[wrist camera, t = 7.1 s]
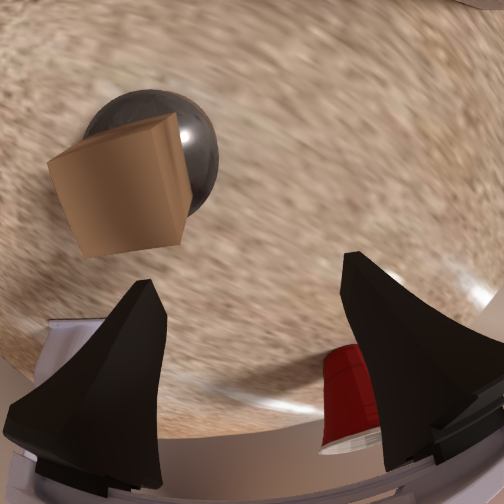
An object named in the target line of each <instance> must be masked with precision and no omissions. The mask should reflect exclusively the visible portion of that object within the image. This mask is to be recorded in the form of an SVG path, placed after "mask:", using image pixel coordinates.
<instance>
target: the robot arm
mask: <svg viewBox="0 0 504 504" xmlns="http://www.w3.org/2000/svg"><path fill="white" fill-rule="evenodd" d="M340 296H341V300H342V303H343V307H344V310H345V314H346V317H347V319H348V322H349V324H350V327H351V329H352V331H353V334H354V336H355V339H356V341H357V343H358V346H359V348H360V351H361V353H362V356H363V358H364V361H365V363H366V366H367V369H368V372H369V376H370V380H371V384H372V388H373V392H374V396H375V401H376V406H377V411H378V416H379V423H380V429H381V436H382V445H383V456H384V465H385V470H386V472H389V473H386V474H383V475H380V476H377V477H374V478H371V479H368V480H364V481H361V482H358V483H354V484H350V485H346V486H342V487H338V488H333V489H329V490H325V491H319V492H314V493H309V494H302V495H296V496H289V497H281V498H271V499H259V500H242V501H241V500H240V501H205V500H187V499H175V498H165V497H158V496H150V495H144V494H138V493H133V492H131V489H136V490H140V489H141V487H142V488H148V489H158V488H160V487H161V486H162V485H163V482H162V476H161V470H160V463H159V453H158V441H157V394H158V385H159V379H160V373H161V367H162V361H163V355H164V349H165V344H166V335H167V314H166V312H165V309H164V307H163V305H162V303H161V301H160V298H159V296H158V294H157V292H156V290H155V287H154V285H153V283H152V280H151V279H146V280H138V281H136V282H135V283H134V284H133V285H132V287H131V288H130V289H129V290H128V291H127V293H126V294H125V295H124V296H123V298H122V299H121V300H120V302H119V303H118V304H117V305H116V307H115V308H114V309H113V310H112V312H111V313H110V314H109V315H108V317H107V318H106V319H87V320H49V322H48V325H49V326H50V328H51V330H50V333H49V335H48V337H47V339H46V342H45V344H44V346H43V349H42V351H41V353H40V356H39V358H38V361H37V363H36V366H35V370H34V383H35V387H36V389H34V390H33V391H31V392H30V393H29V394H27V395H26V396H24V397H22V398H21V399H19V400H18V401H16V402H15V403H13V404H11V405H10V407H9V411H8V414H7V418H6V421H5V425H4V429H3V434H4V436H5V437H6V438H8V439H9V440H10V441H12V442H13V443H15V444H17V445H18V446H20V447H21V449H20V454H19V453H16V452H15V451H13V452H12V456H11V461H10V466H9V472H8V478H7V486H6V494H5V500H6V502H8V503H9V504H348V503H351V502H355V501H359V500H362V499H365V498H369V497H372V496H375V495H378V494H381V493H384V492H387V491H390V490H393V489H395V488H398V487H399V488H398V489H397V490H396V492H395V494H394V495H393V496H390V497H387V498H383V499H380V500H377V501H374V502H371V503H368V504H486V503H488V501H490V500H491V499H492V498H493V497H494V496H495V495H497V494H498V493H499V492H500V491H501V490H502V489H503V488H504V409H503V407H502V406H503V405H504V396H503V394H504V343H502V342H499V341H496V340H494V339H491V338H489V337H486V336H484V335H482V334H480V333H477V332H475V331H473V330H471V329H469V328H467V327H465V326H463V325H461V324H459V323H458V322H456V321H454V320H452V319H450V318H449V317H447V316H445V315H443V314H442V313H440V312H439V311H437V310H436V309H434V308H432V307H431V306H429V305H428V304H426V303H425V302H423V301H422V300H421V299H419V298H418V297H416V296H415V295H414V294H412V293H411V292H410V291H408V290H407V289H406V288H404V287H403V286H402V285H401V284H399V283H398V282H397V281H395V280H394V279H393V278H392V277H391V276H389V275H388V274H387V273H386V272H384V271H383V270H382V269H381V268H380V267H378V266H377V265H376V264H375V263H374V262H372V261H371V260H370V259H369V258H367V257H366V256H365V255H364V254H362V253H361V252H360V251H357V252H350V253H344V261H343V270H342V280H341V288H340ZM413 462H414V463H413ZM411 463H413V464H411ZM409 464H410V465H409ZM406 465H408V466H406ZM403 466H405V467H403ZM400 467H403V468H400ZM398 468H400V469H398ZM395 469H397V470H395ZM393 470H395V471H393ZM390 471H392V472H390Z"/></svg>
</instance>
